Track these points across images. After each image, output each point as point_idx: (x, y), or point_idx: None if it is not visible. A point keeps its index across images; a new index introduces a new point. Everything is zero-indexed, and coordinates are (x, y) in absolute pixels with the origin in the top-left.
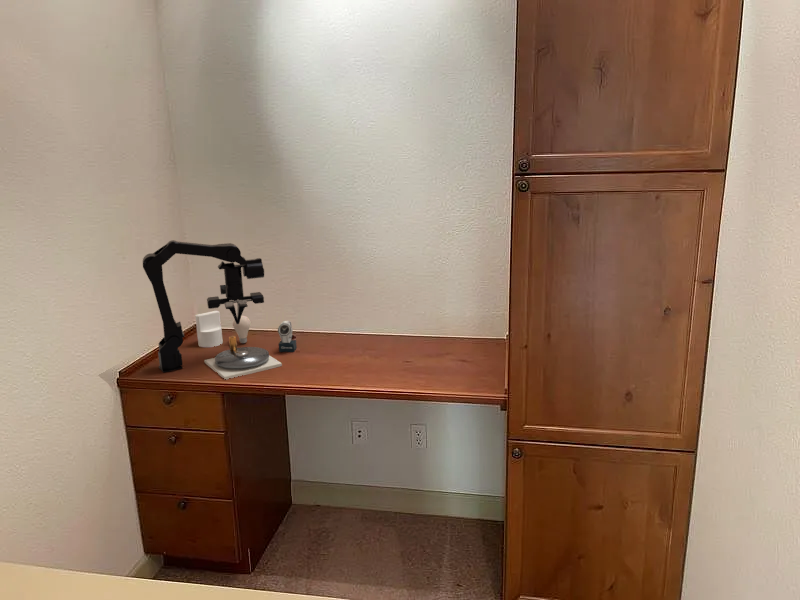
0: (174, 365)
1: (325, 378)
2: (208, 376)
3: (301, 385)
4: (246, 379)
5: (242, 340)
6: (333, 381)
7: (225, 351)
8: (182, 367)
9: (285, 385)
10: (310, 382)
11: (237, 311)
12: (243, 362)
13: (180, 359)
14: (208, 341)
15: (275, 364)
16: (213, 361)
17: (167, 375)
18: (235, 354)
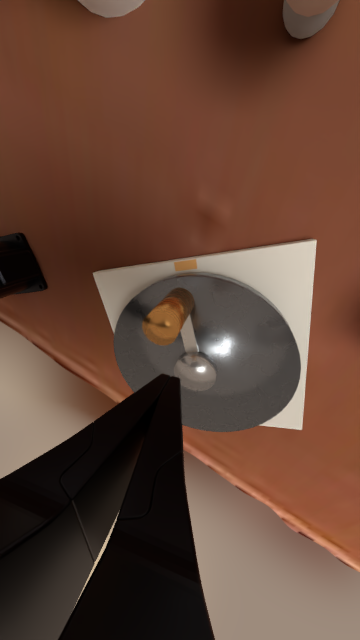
0: (19, 291)
1: (342, 521)
2: (112, 370)
3: (275, 507)
4: (186, 429)
5: (298, 24)
6: (345, 535)
7: (149, 297)
8: (44, 289)
9: (247, 490)
10: (299, 511)
11: (131, 485)
12: (186, 416)
13: (19, 281)
14: None
15: (280, 425)
16: (119, 301)
17: (26, 312)
18: (178, 347)
